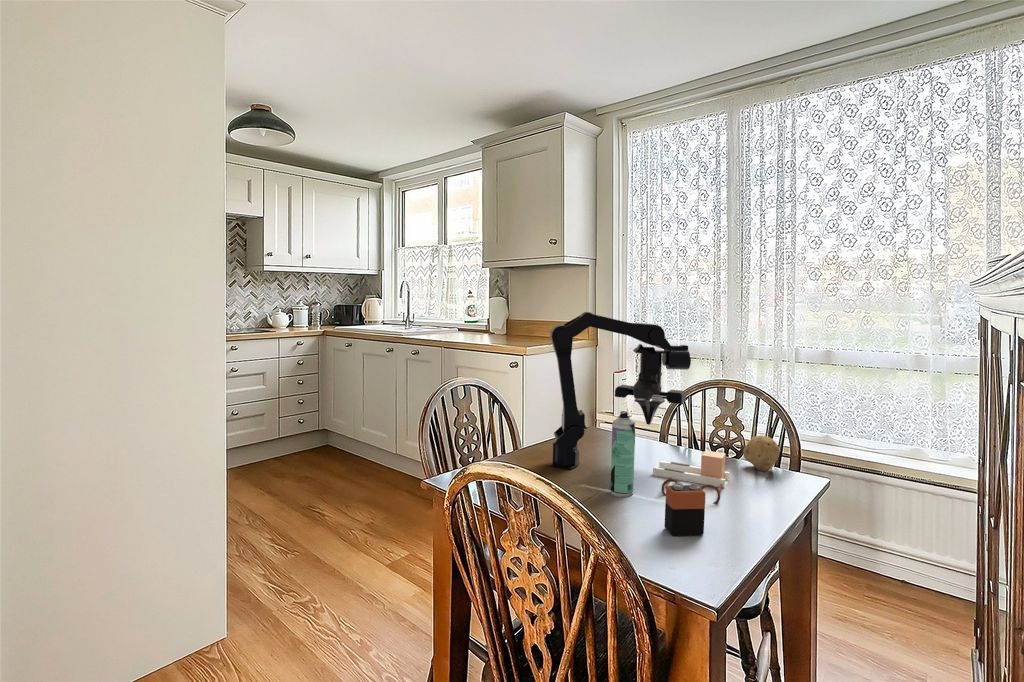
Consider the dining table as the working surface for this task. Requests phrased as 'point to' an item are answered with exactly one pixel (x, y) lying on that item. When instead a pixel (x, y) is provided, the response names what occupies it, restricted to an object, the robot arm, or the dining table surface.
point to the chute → (687, 474)
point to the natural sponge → (761, 452)
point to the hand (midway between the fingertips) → (648, 424)
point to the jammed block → (713, 464)
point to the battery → (684, 509)
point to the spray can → (622, 456)
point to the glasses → (700, 487)
